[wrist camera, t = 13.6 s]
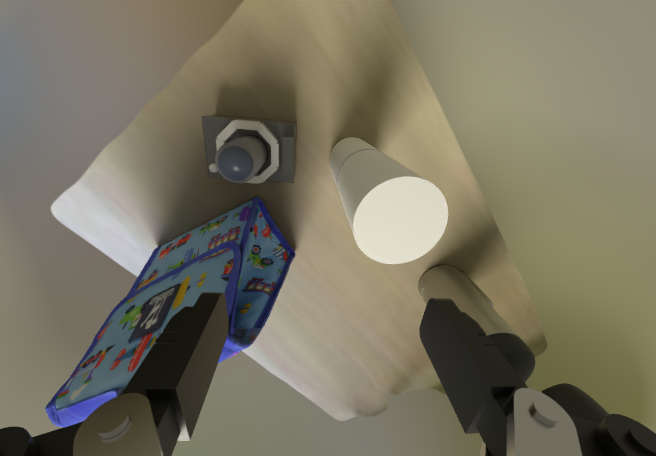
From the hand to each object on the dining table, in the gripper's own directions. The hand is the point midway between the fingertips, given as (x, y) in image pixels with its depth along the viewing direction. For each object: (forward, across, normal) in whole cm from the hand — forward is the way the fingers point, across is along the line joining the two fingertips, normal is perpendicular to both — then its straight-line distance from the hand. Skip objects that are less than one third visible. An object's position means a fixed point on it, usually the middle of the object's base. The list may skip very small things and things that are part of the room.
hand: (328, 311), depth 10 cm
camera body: (+34, +9, -1) cm, 35 cm away
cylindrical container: (+34, -6, 0) cm, 35 cm away
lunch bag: (+34, +15, +18) cm, 42 cm away
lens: (+29, +9, -1) cm, 30 cm away
